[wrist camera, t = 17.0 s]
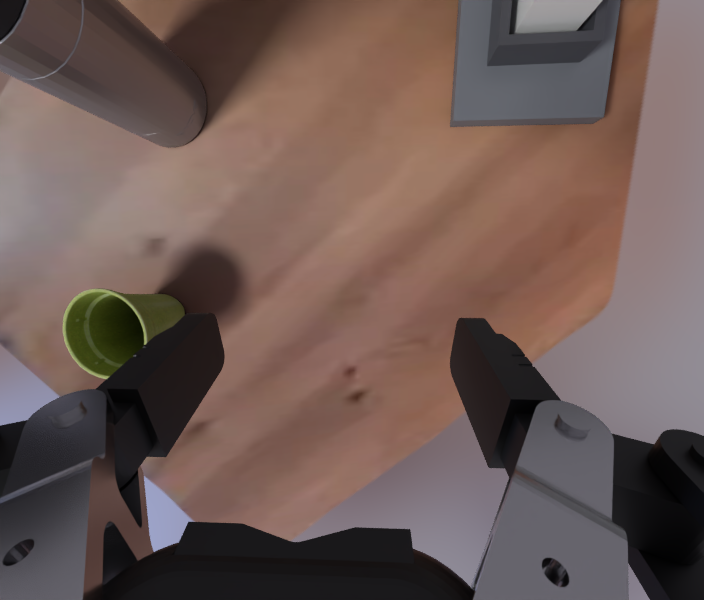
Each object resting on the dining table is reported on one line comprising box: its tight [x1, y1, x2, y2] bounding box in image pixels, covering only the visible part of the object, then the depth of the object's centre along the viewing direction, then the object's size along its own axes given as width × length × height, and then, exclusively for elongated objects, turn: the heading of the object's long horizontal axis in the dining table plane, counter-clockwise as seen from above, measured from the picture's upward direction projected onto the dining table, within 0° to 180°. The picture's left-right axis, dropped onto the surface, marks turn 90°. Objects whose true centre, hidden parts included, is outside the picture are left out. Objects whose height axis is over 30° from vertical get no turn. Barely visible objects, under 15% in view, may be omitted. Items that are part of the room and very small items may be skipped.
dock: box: [450, 0, 621, 127], centre depth 27 cm, size 18×14×4 cm
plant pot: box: [63, 289, 185, 379], centre depth 34 cm, size 9×9×9 cm
